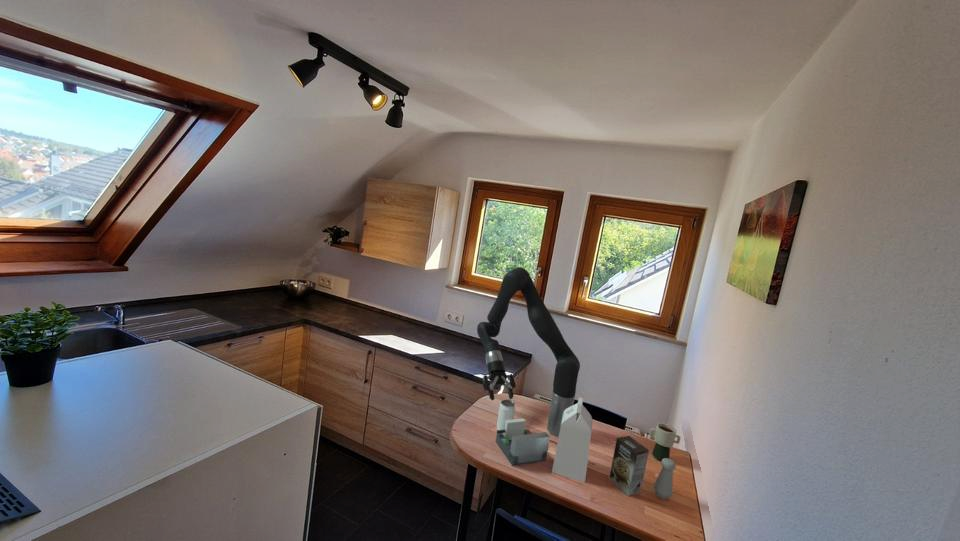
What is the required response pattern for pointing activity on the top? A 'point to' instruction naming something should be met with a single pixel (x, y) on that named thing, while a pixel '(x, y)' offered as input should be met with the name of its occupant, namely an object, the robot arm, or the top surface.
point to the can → (505, 413)
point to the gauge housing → (524, 447)
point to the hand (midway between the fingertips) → (502, 399)
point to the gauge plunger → (513, 428)
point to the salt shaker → (665, 479)
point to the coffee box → (628, 465)
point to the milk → (573, 443)
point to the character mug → (663, 440)
